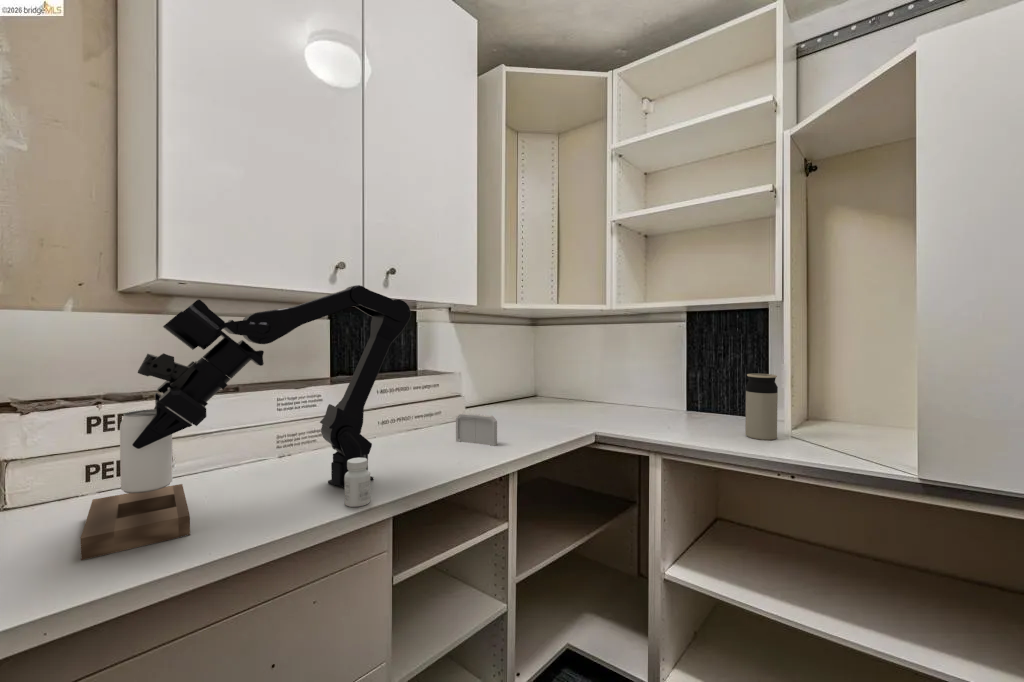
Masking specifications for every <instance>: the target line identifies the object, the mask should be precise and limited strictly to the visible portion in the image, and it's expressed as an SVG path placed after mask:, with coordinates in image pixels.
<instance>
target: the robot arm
mask: <svg viewBox="0 0 1024 682" xmlns="http://www.w3.org/2000/svg"><path fill="white" fill-rule="evenodd" d="M353 307H355V308H356V309H358V310H360V311H361V312H363V313H364V314H366V315H367V316H370V317H371V321H370V335H369V337H368V340H367V342H366V345H365V347H364V349H363V352H362V354H361V356H360V359H359V361H358V362H357V366H356V368H355V370H354V372H353V374H352V377H351V379H350V381H349V383H348V385H347V387H346V390H345V392H344V395H343V397H342V398H341V400H340V401H339V402H338V403H337V404H336V405H333V404H328V406H327V408H326V411H325V414H324V416H323V418H322V419H321V420H320V421H319V423H320V424H321V427H320V434H321V435H322V437H323V439H324V440H325V442H328V443H329V444H330V445H331V447H332V450H334V451H336V452H335V453H332V461H331V463H330V464H331V466H330V467H331V468H330V470H331V471H330V472H331V474H330V475H331V479H329V480H327V484H329V485H333V486H337V487H341V488H344V489H345V481H344V478H345V474H346V473H347V472H348V471H349V470H348V469H347V461H348V460H349V459H352V458H366V459H367V461H368V462H369V454H370V452H371V449H372V446H373V443H372V442H371V441H369V440H368V439H367V438H366V437H365V436H364V435H362V434H361V433H362V428H363V425H364V411H365V405H366V403H367V401H368V398H369V396H370V394H371V391H372V389H373V386H374V384H375V382H376V379H377V377H378V375H379V373H380V370H381V368H382V365H384V364H383V363H384V361H385V358H386V356H387V355H388V352H389V349H390V348H391V345H392V344H393V342H394V341H395V340H396V339H397V338H398V337H399V336H400V335H401V334H402V332H403V331H404V329H406V326H407V325H408V323H409V322H410V320H411V316H412V311H411V309H410V306H409V304H408V303H407V302H405V301H404V300H402V299H392V298H390V297H388V296H385V295H383V294H380V293H378V292H375V291H372V290H370V289H368V288H366V287H365V286H363V285H360V284H358V285H357V284H356V285H352V286H351V285H350V286H348V287H346V288H345V289H343V290H339V291H337V292H334V293H330V294H327V295H325V296H322V297H321V296H320V297H318V298H315V299H312V300H310V301H306V302H303V303H301V304H297V305H294V306H291V307H285V308H279V309H277V308H275V309H271V310H265V311H264V310H263V311H257V312H253V313H250V314H248V315H246V316H245V317H243V319H242V320H233V319H229V320H228V321H225V320H223V319H222V318H221V317H219V316H218V315H217V313H215V312H213V310H211V309H210V308H209V307H208V305H207V304H206V303H205V302H204V301H202V300H201V299H197V300H196V301H194V302H193V303H192V304H190V305H189V306H188V307H187V308H185V310H180V312H179V313H178V314H176V315H175V316H174V317H172V318H171V319H170V320H169V321H168V322H166V323H165V324H164V325H163V326H162V328H164V330H166V331H168V332H169V333H170V334H172V336H174V337H176V339H178V340H179V341H180V342H182V343H183V344H184V345H186V346H188V348H190V349H191V350H192V351H193V350H195V349H196V348H201V349H202V350H203V351H204V350H206V349H207V348H208V347H209V346H211V345H212V344H213V343H214V342H215V341H216V340H218V339H219V338H220V337H222V339H220V340H219V341H218V343H216V344H215V345H214V346H213V347H212V348H211V349H209V350H208V351H207V352H206V353H205V354H203V356H202V357H200V358H199V359H198V360H195V361H191V362H190V363H189V364H188V365H185V364H181V363H178V362H175V357H174V356H173V355H169V354H166V353H162V354H160V355H154V354H151V353H146V355H145V358H144V359H143V361H142V363H141V364H140V367H139V368H138V369H137V370H138V371H137V374H139V375H141V376H145V377H152V378H153V377H154V378H157V379H160V380H163V381H164V382H163V383H162V384H161V385H160V386H158V388H156V389H157V391H158V392H159V393H162V394H159V393H157V392H155V393H154V397H155V398H154V400H155V402H154V404H155V406H154V408H153V409H156V415H155V416H154V417H153V419H152V420H151V421H150V422H149V424H148V425H147V426H146V427H145V429H144V430H143V431H142V432H141V434H140V435H139V436H138V438H137V439H136V440H135V441H134V443H133V444H132V445H133V446H134V447H135V448H137V449H140V448H142V447H144V446H147V445H149V444H151V443H153V442H155V441H158V440H160V439H162V438H164V437H166V436H169V435H171V434H172V435H173V434H176V433H178V432H180V431H183V430H185V429H188V428H191V427H192V426H195V427H198V425H200V423H201V422H203V421H204V420H205V419H206V418H207V407H206V406H207V405H209V403H208V401H210V400H211V399H212V398H213V397H214V396H215V395H216V394H217V393H218V392H219V391H220V390H221V389H222V390H224V389H225V388H227V386H228V383H229V382H230V381H231V380H232V378H234V376H236V375H237V374H238V373H239V372H240V371H241V370H243V369H244V368H245V366H246V365H248V363H250V362H251V361H252V362H253V363H254V364H255V365H257V366H261V367H262V366H264V363H265V362H264V353H265V352H264V350H263V349H262V350H261V349H260V350H255V348H254V347H252V346H251V345H250V344H248V343H247V342H246V341H248V342H249V343H252V344H257V345H268V344H272V343H273V342H275V341H277V340H278V339H280V338H282V337H284V336H286V335H287V334H289V333H291V332H292V331H294V330H295V329H297V328H299V327H301V326H303V325H305V324H308V323H310V322H314V321H315V320H316V321H317V320H319V319H321V318H324V317H327V316H330V315H334V314H337V313H338V312H342V311H344V310H348V309H350V308H353ZM223 330H224V331H225V332H227V334H230V335H231V334H232V335H236V336H242V337H243V338H244V339H245V340H246V341H244V340H243V339H242V340H239V341H238V342H237V341H235V340H234V339H233V338H231V336H229V335H227V334H226V333H225V332H224V331H223ZM366 470H368V471H369V465H368V466H367V468H366ZM372 480H374V476H371V475H370V482H371V481H372Z"/></svg>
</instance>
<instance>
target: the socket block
mask: <svg viewBox="0 0 1024 682" xmlns="http://www.w3.org/2000/svg"><path fill="white" fill-rule="evenodd" d="M190 515H191V514H190V511H189V506H188V503H187V498H186V494H185V490H184V486H183V483H180V484H174V485H168V486H166V487H164V488H161V489H158V490H155V491H150V492H144V493H122V494H117V495H111V496H104V497H100V498H93V499H92V500H91V504H90V507H89V510H88V513H87V516H86V520H85V523H84V527H83V529H82V532H81V535H80V561H85V560H89V559H93V558H97V557H102V556H105V555H110V554H113V553H119V552H122V551H128V550H132V549H136V548H139V547H145V546H149V545H153V544H158V543H161V542H165V541H169V540H170V541H171V540H174V538H175V539H178V537H179V538H182V537H181V536H184V537H186V536H185V535H188V536H190V535H191V516H190Z"/></svg>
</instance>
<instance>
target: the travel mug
mask: <svg viewBox="0 0 1024 682" xmlns="http://www.w3.org/2000/svg"><path fill="white" fill-rule="evenodd" d="M746 376H747V377H748V381H747V383H746V384H745V433H744V434H745V436H746V437H747V438H750V439H754V440H761V441H773V440H776V439H777V438H778V402H779V401H778V396H779V395H778V385H777V383H776V378H777V377H778V375H776V374H772V373H771V374H769V373H747V374H746Z"/></svg>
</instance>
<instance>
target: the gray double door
mask: <svg viewBox="0 0 1024 682" xmlns="http://www.w3.org/2000/svg"><path fill="white" fill-rule="evenodd" d="M455 442H456V443H470V444H479V445H484V446H485V445H487V446H491V447H496V446H497V445H498V420H497V419H496V418H495V417H494V416H493V415H487V414H485V415H484V414H480V413H479V414H477V413H466V412H465V413H464V412H462V413H459V414H458V416H456V417H455Z"/></svg>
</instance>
